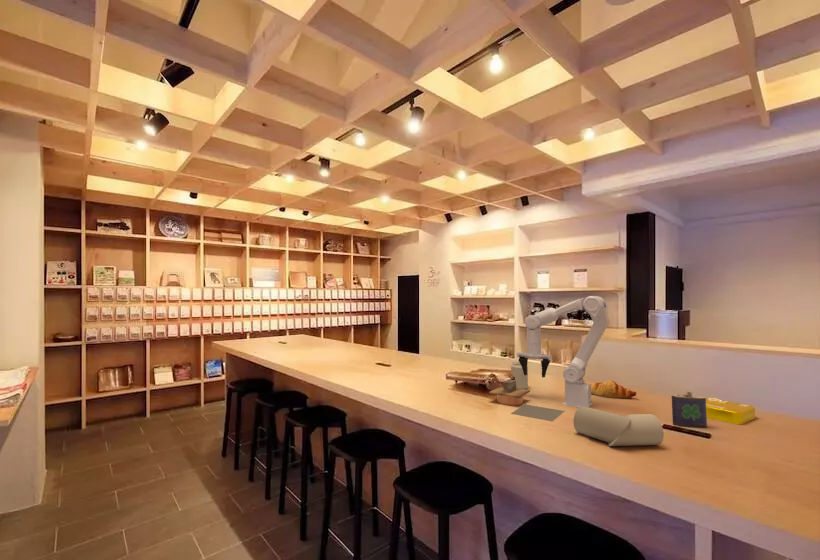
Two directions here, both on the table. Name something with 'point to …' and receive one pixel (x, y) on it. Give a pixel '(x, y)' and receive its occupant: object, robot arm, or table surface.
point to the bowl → (509, 400)
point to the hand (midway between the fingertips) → (534, 376)
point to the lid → (509, 390)
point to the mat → (538, 412)
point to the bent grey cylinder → (619, 427)
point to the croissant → (611, 390)
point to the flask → (689, 410)
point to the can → (519, 375)
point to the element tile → (729, 411)
